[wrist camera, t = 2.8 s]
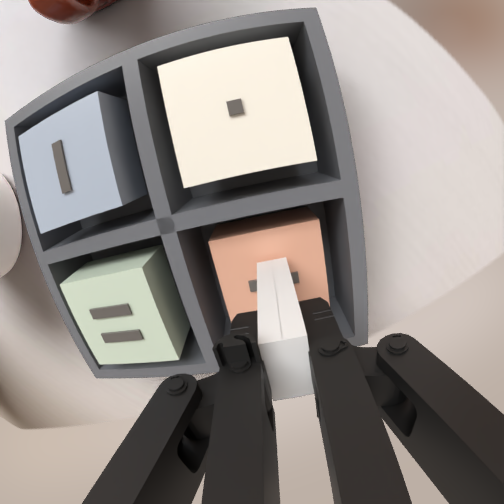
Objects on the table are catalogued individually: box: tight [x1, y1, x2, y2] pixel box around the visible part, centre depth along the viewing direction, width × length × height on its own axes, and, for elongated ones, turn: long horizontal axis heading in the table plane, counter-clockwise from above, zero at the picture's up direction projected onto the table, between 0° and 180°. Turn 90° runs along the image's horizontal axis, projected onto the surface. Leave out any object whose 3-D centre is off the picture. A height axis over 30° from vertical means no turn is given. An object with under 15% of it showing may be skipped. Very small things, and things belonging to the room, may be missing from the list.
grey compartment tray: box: [5, 8, 368, 378], centre depth 15 cm, size 18×18×5 cm
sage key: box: [60, 245, 190, 364], centre depth 16 cm, size 6×6×4 cm
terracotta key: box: [208, 206, 330, 322], centre depth 17 cm, size 6×6×4 cm
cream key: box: [157, 37, 317, 188], centre depth 12 cm, size 6×6×4 cm
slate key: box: [19, 91, 148, 234], centre depth 13 cm, size 6×6×4 cm
